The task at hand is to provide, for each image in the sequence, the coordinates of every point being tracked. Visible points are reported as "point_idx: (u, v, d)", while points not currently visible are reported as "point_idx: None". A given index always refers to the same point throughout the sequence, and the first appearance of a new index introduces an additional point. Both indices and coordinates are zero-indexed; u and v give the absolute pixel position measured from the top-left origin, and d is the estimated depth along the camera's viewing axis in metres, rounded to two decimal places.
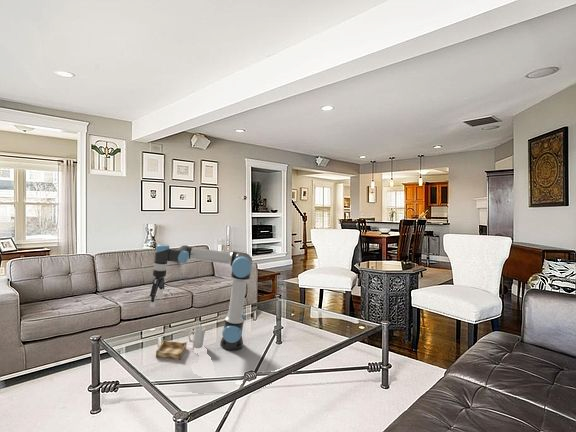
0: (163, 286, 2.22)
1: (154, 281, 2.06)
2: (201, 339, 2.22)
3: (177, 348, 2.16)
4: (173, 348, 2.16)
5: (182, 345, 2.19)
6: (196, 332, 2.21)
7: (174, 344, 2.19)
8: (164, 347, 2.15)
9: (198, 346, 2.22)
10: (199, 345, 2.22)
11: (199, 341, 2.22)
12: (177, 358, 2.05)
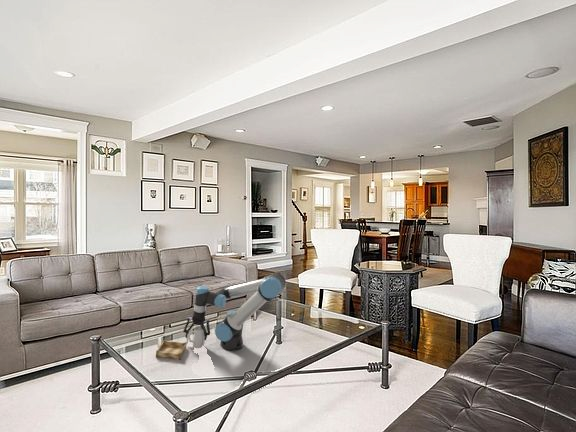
0: (207, 334, 2.23)
1: (188, 318, 2.23)
2: (201, 339, 2.22)
3: (177, 348, 2.16)
4: (173, 348, 2.16)
5: (182, 345, 2.19)
6: (196, 332, 2.21)
7: (174, 344, 2.19)
8: (164, 347, 2.15)
9: (198, 346, 2.22)
10: (199, 345, 2.22)
11: (199, 341, 2.22)
12: (177, 358, 2.05)
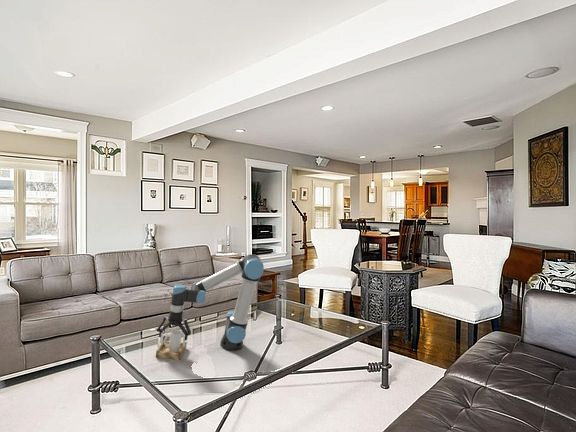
0: (188, 334, 2.11)
1: (164, 317, 2.10)
2: (178, 343, 2.10)
3: None
4: None
5: (182, 345, 2.19)
6: (172, 336, 2.09)
7: None
8: (164, 347, 2.15)
9: (174, 351, 2.10)
10: (175, 350, 2.10)
11: (175, 346, 2.10)
12: (177, 358, 2.05)
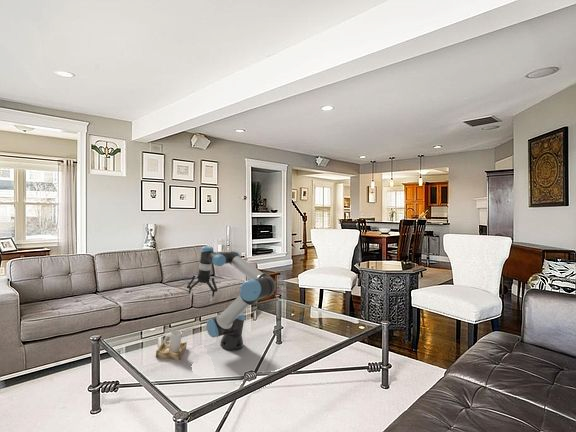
0: (215, 290, 2.33)
1: None
2: (178, 344, 2.10)
3: None
4: None
5: (182, 345, 2.19)
6: (172, 337, 2.09)
7: None
8: (164, 347, 2.15)
9: (174, 351, 2.10)
10: (176, 350, 2.10)
11: (175, 346, 2.10)
12: (177, 358, 2.05)
